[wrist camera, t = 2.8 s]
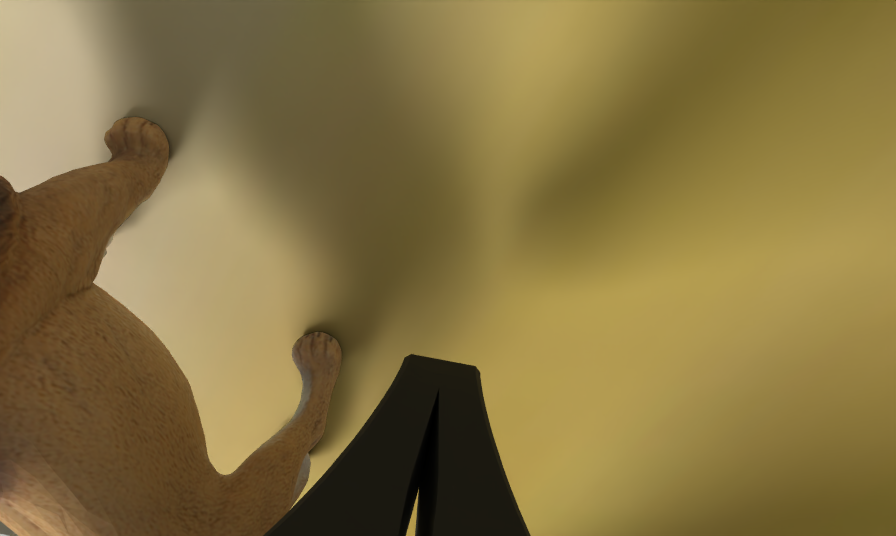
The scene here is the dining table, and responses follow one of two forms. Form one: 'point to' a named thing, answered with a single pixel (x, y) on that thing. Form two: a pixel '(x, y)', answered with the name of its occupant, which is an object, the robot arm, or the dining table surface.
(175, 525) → the lion figurine
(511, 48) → the dining table surface
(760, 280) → the dining table surface
